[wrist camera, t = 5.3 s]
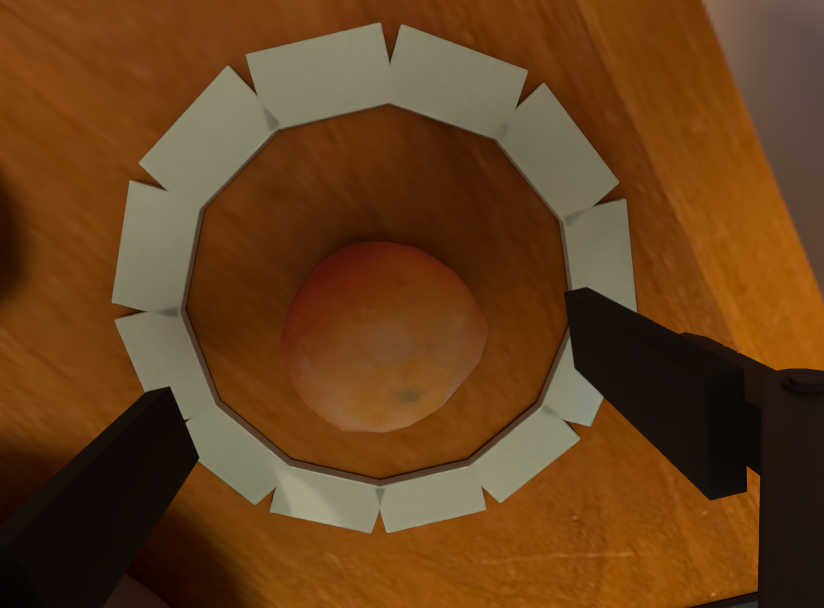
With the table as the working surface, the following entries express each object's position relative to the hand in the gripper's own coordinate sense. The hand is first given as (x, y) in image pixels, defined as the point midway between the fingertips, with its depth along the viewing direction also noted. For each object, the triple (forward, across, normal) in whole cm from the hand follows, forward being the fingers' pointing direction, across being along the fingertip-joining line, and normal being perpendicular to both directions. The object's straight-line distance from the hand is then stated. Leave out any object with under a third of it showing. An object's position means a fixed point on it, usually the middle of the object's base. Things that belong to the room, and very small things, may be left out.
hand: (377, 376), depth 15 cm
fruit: (+8, 0, 0) cm, 8 cm away
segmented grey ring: (+7, 0, 0) cm, 7 cm away
